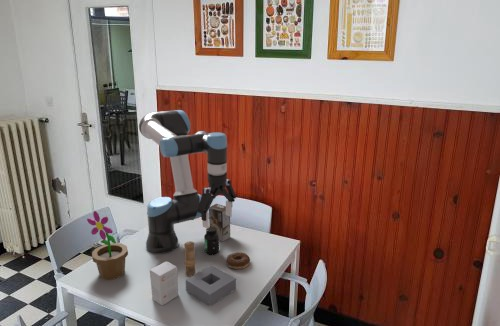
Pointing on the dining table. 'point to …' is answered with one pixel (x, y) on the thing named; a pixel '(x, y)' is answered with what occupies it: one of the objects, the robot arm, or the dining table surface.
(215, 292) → the socket block
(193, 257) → the oak peg
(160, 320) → the dining table surface
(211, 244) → the supplement bottle
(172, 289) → the small box
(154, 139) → the robot arm
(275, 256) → the dining table surface
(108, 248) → the flowerpot
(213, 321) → the dining table surface
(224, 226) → the coffee box
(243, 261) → the donut
